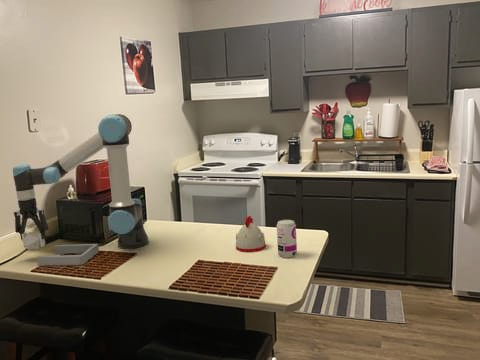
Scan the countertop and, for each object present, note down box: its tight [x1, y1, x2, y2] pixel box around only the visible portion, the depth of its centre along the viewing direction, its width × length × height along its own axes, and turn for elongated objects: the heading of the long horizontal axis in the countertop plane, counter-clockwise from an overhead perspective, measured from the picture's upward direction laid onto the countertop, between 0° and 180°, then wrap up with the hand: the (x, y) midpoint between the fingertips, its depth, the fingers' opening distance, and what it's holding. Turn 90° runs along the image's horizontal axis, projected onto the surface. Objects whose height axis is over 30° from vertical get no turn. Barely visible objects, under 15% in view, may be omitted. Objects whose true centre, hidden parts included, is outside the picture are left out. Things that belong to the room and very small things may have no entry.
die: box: [21, 230, 41, 251], centre depth 209 cm, size 8×9×10 cm
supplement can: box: [276, 219, 298, 259], centre depth 193 cm, size 8×8×15 cm
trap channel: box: [36, 243, 100, 267], centre depth 208 cm, size 22×17×4 cm
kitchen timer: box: [235, 215, 267, 253], centre depth 207 cm, size 14×14×15 cm
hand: (34, 246), depth 209 cm, fingers closed on die, 8 cm apart
